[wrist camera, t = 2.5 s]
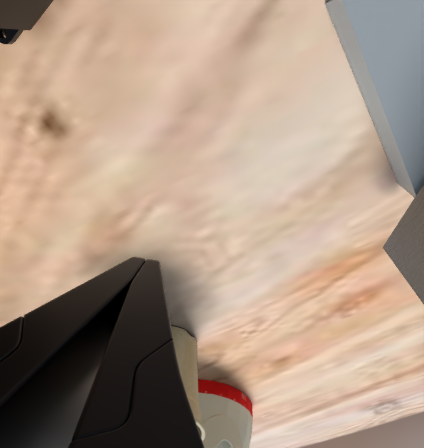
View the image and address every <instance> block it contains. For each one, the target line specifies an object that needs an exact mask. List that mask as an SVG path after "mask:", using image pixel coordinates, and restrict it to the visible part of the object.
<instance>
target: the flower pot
mask: <svg viewBox="0 0 424 448" xmlns="http://www.w3.org/2000/svg"><path fill="white" fill-rule="evenodd" d="M171 329H172V334H173V341H174V344H175V350H176V355H177V360H178V364H179V369H180V373H181V377H182V380H183V384H184V387H185V390H186V394H187V397H188V400H189V403H190V406H191V409H192V412H193V415H194V418H195V421H196V424H197V427H198V430H199V433H200V436H201V439H202V442H203V440H204V438H205V427H204V425H203V423H202V417H201V410H200V408H199V400H198V365H197V342H196V340H195V338H194V337H191V336H190V335H189V334H188V333H187V331H186V330H184V329H181V328H178V327H174V326H171Z"/></svg>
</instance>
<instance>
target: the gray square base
mask: <svg viewBox="0 0 424 448" xmlns="http://www.w3.org/2000/svg"><path fill="white" fill-rule="evenodd" d="M325 5H326V8H327V10H328V12H329V15H330V17H331V20H332V22H333V25H334V27H335V30H336V32H337V35H338V37H339V40H340V42H341V44H342V47H343V49H344V52H345V54H346V57H347V59H348V62H349V64H350V67H351V69H352V72H353V74H354V77H355V79H356V81H357V84H358V86H359V89H360V91H361V94H362V96H363V99H364V101H365V104H366V106H367V109H368V111H369V114H370V116H371V118H372V121H373V123H374V126H375V128H376V131H377V133H378V136H379V138H380V141H381V143H382V146H383V148H384V150H385V153H386V155H387V158H388V160H389V163H390V165H391V168H392V170H393V173H394V175H395V178H396V180H397V183H398V184H399V185H400V186H402V187H403V188H404V189H405V190H406V191H407V192H408V193H410V194H411V195H412V196H413V197H414V198H415V197H416V195H417V194H418V192H419V191H420V189H421V188H422V186H423V185H424V0H329V1H328V2H327V3H326V4H325Z"/></svg>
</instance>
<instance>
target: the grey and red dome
mask: <svg viewBox="0 0 424 448" xmlns="http://www.w3.org/2000/svg"><path fill="white" fill-rule="evenodd" d="M198 400H199V408H200V410H201V417H202V423H203V425H204V427H205V438H204V440H203V445H204V447H205V448H249V446H250V441H251V434H252V419H253V416H252V403H251V401H250V400H249V398H248V397H247V396H246V395H245V394H244V393H242V392H241V391H240V390H238V389H236V388H234V387H232V386H230V385H227V384H223V383H219V382H216V381H209V380H201V379H198Z"/></svg>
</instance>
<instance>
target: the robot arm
mask: <svg viewBox="0 0 424 448" xmlns="http://www.w3.org/2000/svg"><path fill="white" fill-rule="evenodd" d="M52 1H53V0H0V43H3V44H13V43H14V42H15V41H16V40H17V38H18V37H19V36H20V34H21V33H22V32H23V30H31V29H32V27H33V26H34V25H35V23H36V22H37V21H38V20H39V18H40V17H41V16H42V14H43V13H44V12H45V10H46V9H47V8H48V7H49V5H50V4H51V3H52ZM3 29H4V31H5V32H6V35H7V36H6V38H5V37H4V36H3V34H2V30H3ZM0 448H205V447H204V445H203V442H202V439H201V436H200V433H199V430H198V427H197V424H196V421H195V418H194V415H193V412H192V409H191V406H190V403H189V400H188V397H187V394H186V390H185V387H184V384H183V380H182V377H181V373H180V369H179V364H178V360H177V355H176V350H175V344H174V341H173V334H172V329H171V323H170V317H169V311H168V306H167V300H166V294H165V289H164V283H163V277H162V271H161V266H160V262H159V261H156V260H150V259H148V260H145V259H144V258H138V257H132V258H130V259H128V260H126V261H124V262H122V263H121V264H119V265H117V266H115V267H113V268H111V269H109V270H108V271H106V272H104V273H102V274H100V275H98V276H96V277H94V278H93V279H91V280H89V281H87V282H85V283H83V284H81V285H79V286H78V287H76V288H74V289H72V290H70V291H68V292H66V293H65V294H63V295H61V296H59V297H57V298H55V299H53V300H51V301H50V302H48V303H46V304H44V305H42V306H40V307H38V308H37V309H35V310H33V311H31V312H29V313H27V314H25V315H24V318H23V317H19V318H17V319H15V320H13V321H11V322H9V323H7V324H6V325H4V326H2V327H0Z"/></svg>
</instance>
